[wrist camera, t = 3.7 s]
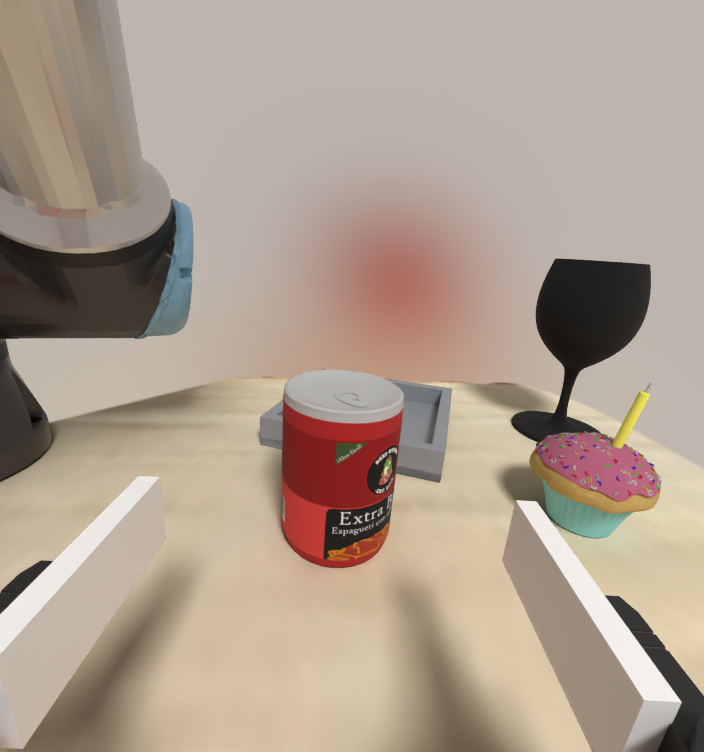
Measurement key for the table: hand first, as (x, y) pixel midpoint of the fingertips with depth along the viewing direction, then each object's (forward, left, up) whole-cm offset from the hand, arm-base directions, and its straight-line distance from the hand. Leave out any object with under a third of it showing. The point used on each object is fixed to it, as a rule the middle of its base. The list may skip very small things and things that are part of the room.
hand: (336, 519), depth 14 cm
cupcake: (+15, +19, -10) cm, 26 cm away
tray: (-5, +29, -10) cm, 31 cm away
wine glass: (+17, +37, -10) cm, 42 cm away
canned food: (-3, +11, -10) cm, 15 cm away
